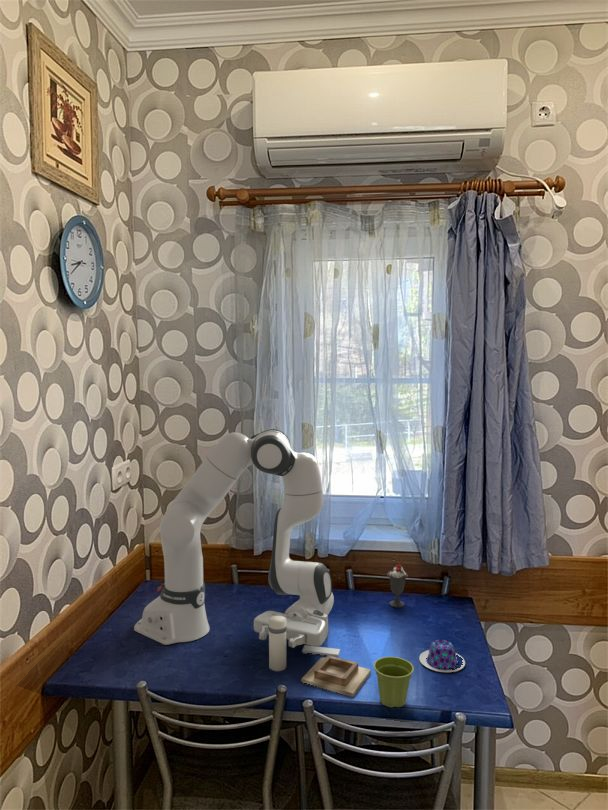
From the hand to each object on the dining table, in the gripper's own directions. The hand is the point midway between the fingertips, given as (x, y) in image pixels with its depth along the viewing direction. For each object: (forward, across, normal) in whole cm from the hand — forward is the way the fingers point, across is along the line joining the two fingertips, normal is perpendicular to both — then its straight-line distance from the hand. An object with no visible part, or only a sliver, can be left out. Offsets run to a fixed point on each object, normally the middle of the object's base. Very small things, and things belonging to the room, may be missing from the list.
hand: (275, 640), depth 161 cm
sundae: (-52, +16, +8) cm, 55 cm away
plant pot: (0, +32, +8) cm, 33 cm away
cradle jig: (-3, +16, +8) cm, 18 cm away
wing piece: (-13, +7, +8) cm, 17 cm away
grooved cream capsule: (-1, 0, +8) cm, 8 cm away
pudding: (-23, +38, +8) cm, 45 cm away
